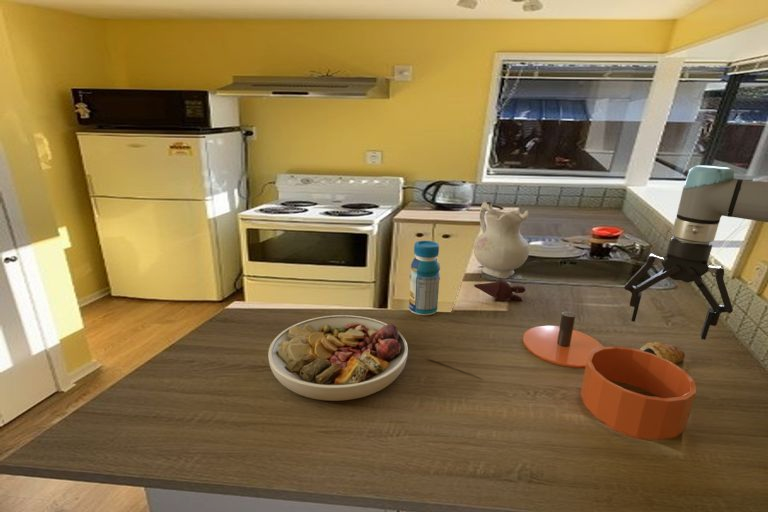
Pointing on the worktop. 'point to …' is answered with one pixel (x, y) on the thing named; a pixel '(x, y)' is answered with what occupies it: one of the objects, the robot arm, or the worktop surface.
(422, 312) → the beverage bottle
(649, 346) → the pastry
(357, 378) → the bowl
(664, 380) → the pot
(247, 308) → the worktop surface
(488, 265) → the ceramic pitcher
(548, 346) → the pot lid
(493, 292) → the icecream
